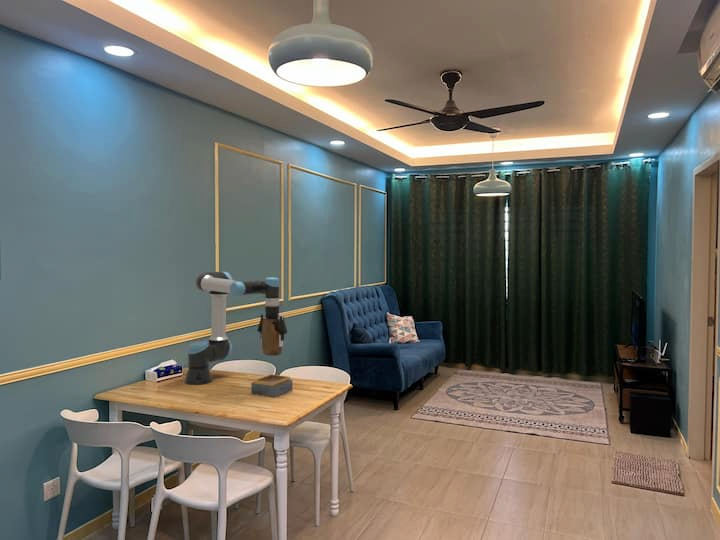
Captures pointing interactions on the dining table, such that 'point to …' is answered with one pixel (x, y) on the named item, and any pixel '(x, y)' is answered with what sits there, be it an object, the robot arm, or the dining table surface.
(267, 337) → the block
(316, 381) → the dining table surface
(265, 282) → the robot arm
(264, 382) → the grey square tray
